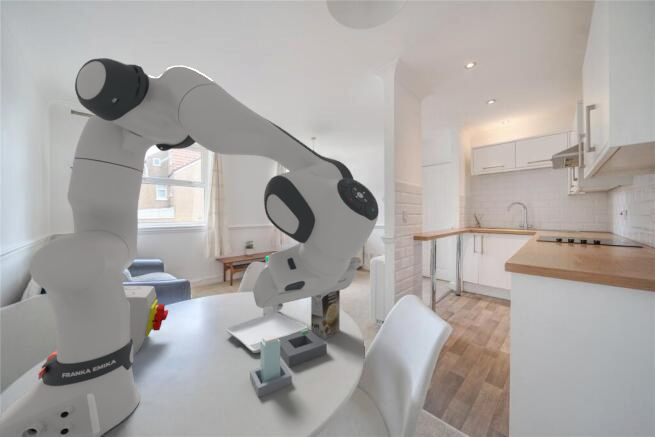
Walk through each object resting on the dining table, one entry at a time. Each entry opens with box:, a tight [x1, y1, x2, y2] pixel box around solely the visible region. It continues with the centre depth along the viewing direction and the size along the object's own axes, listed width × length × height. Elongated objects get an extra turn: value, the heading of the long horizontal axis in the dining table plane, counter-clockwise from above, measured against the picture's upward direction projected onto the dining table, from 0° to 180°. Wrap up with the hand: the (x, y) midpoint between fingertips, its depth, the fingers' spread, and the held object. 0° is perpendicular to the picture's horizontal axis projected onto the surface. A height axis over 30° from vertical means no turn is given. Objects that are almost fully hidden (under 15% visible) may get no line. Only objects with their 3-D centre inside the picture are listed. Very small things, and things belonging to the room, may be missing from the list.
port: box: [278, 328, 328, 368], centre depth 72 cm, size 12×11×5 cm
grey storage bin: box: [249, 360, 293, 398], centre depth 59 cm, size 8×7×3 cm
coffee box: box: [310, 290, 341, 340], centre depth 86 cm, size 9×6×16 cm
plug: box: [260, 334, 281, 383], centre depth 59 cm, size 4×3×11 cm
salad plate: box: [225, 312, 309, 354], centre depth 84 cm, size 21×21×3 cm
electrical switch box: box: [124, 285, 169, 356], centre depth 78 cm, size 15×15×20 cm
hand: (297, 302), depth 50 cm, fingers open, 8 cm apart
